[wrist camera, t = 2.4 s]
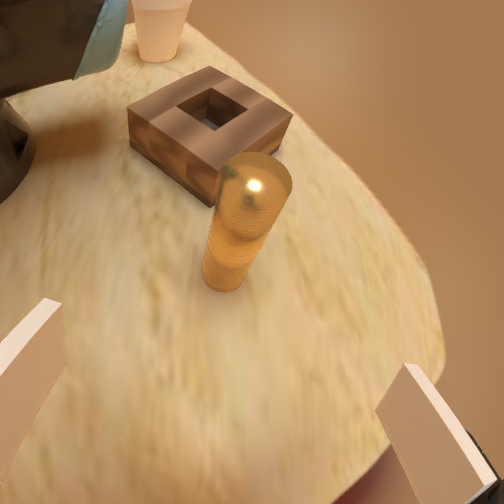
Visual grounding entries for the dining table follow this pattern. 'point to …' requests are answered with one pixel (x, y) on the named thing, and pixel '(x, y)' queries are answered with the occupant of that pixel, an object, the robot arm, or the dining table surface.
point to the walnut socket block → (204, 128)
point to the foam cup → (159, 27)
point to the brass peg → (243, 216)
